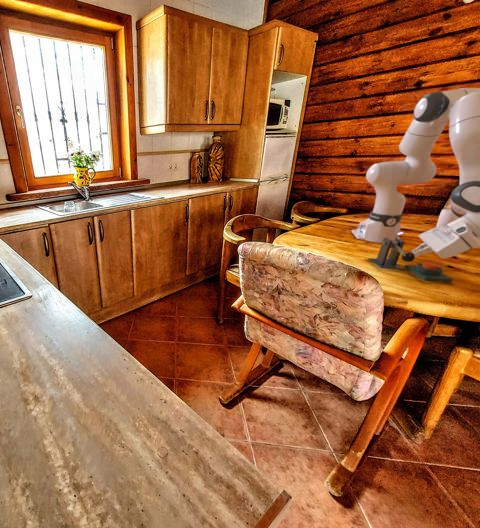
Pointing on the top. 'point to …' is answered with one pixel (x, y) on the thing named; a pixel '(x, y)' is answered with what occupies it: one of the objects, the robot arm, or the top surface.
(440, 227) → the robot arm
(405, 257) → the lever
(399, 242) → the power bracket
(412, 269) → the panel
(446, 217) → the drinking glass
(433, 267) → the button
